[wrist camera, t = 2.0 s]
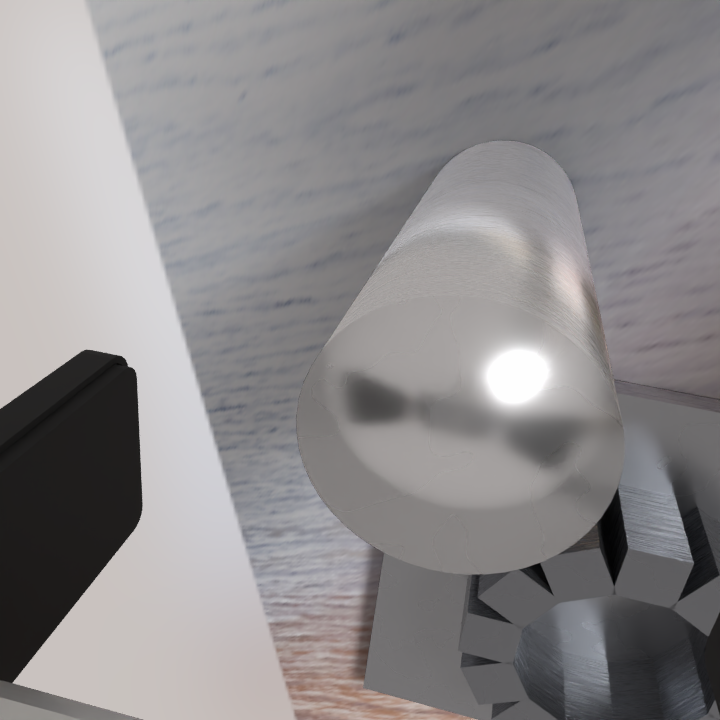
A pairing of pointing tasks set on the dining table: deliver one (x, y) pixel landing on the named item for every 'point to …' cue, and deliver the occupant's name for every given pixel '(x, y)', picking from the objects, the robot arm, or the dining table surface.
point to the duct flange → (579, 597)
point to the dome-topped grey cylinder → (471, 378)
